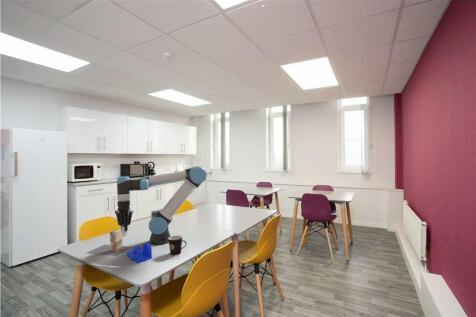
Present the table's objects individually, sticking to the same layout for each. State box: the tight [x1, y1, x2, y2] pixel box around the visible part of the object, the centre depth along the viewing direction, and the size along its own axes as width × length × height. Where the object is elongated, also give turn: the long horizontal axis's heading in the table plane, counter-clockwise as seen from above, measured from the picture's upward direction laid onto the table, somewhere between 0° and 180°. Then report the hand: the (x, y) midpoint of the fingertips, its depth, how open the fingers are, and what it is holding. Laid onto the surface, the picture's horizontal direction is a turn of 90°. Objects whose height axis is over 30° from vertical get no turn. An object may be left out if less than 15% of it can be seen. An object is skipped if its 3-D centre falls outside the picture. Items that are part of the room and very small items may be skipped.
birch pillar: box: [109, 229, 123, 252], centre depth 157 cm, size 5×5×13 cm
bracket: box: [126, 242, 153, 264], centre depth 146 cm, size 18×8×9 cm, turn 50°
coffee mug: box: [168, 235, 188, 256], centre depth 149 cm, size 12×9×10 cm
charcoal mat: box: [86, 244, 133, 257], centre depth 158 cm, size 24×16×1 cm, turn 76°
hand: (124, 235), depth 155 cm, fingers closed
